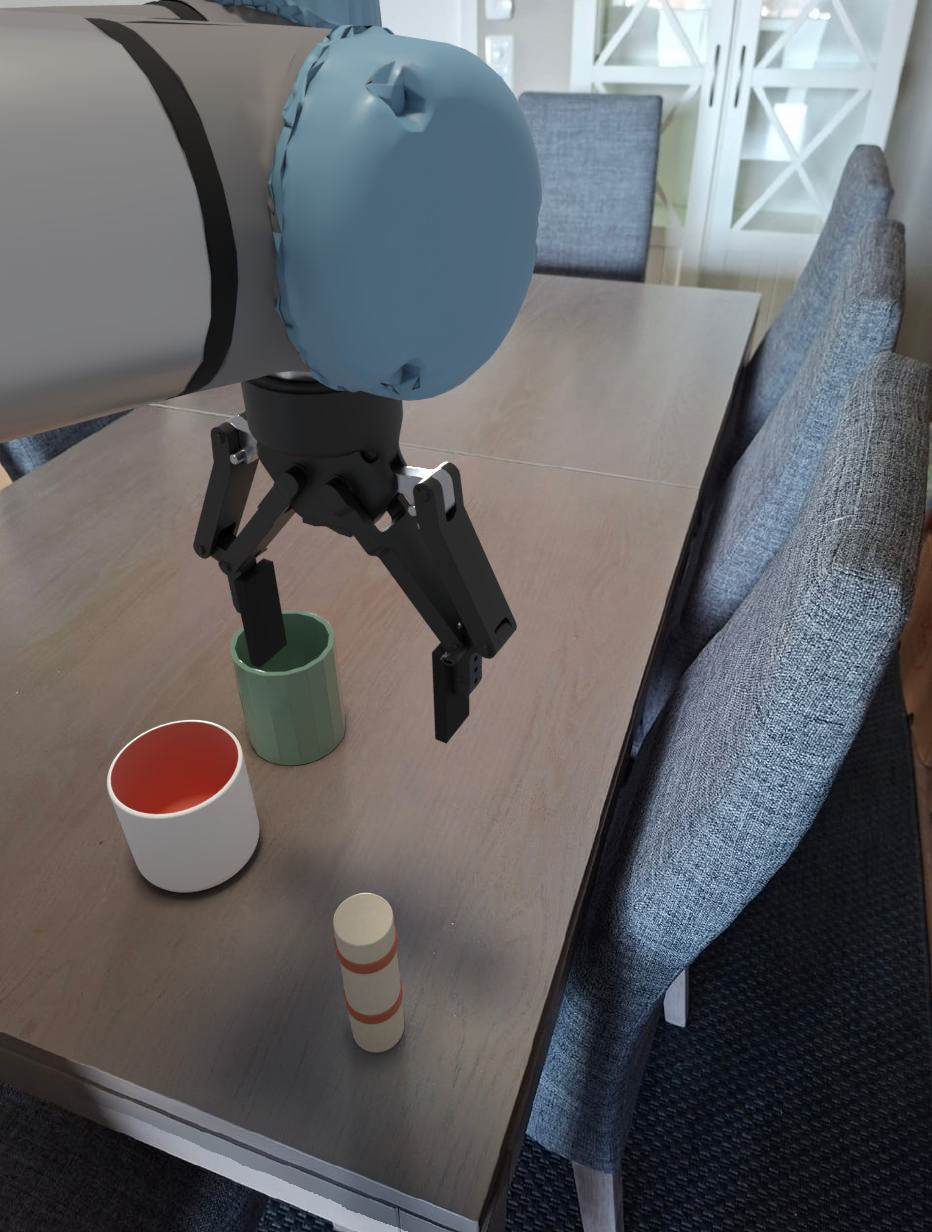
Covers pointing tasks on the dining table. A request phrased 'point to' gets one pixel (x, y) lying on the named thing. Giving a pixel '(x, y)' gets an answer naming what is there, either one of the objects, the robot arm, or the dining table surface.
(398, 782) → the dining table surface
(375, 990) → the cream banded cylinder
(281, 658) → the tumbler
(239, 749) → the cup
